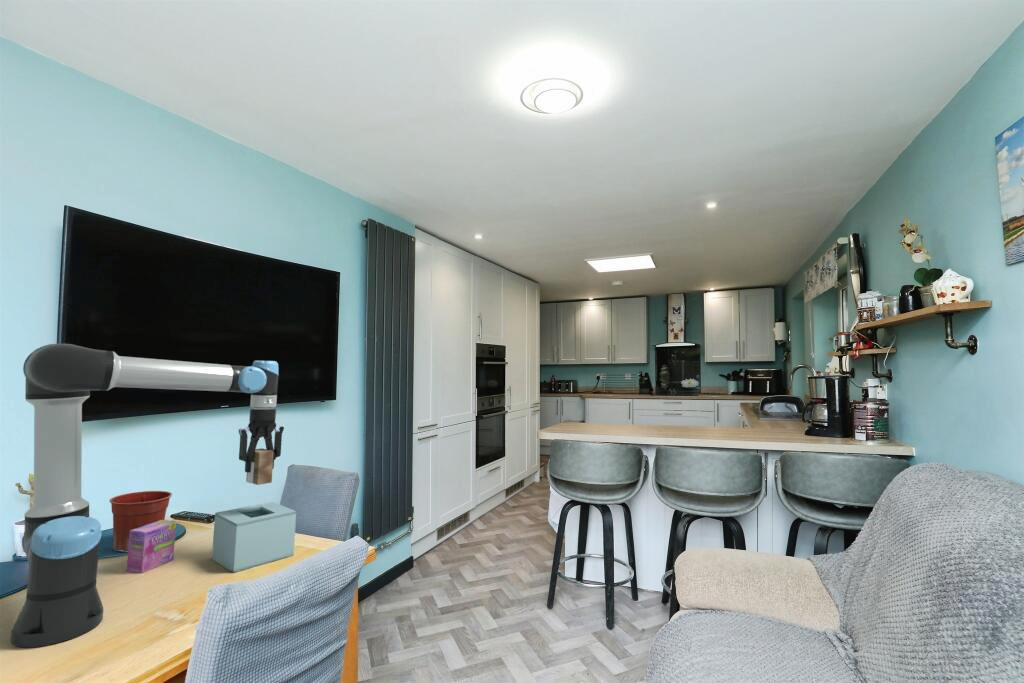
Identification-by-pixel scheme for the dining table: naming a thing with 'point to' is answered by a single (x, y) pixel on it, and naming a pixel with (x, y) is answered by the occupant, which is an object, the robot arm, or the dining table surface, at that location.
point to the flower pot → (136, 513)
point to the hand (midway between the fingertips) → (258, 480)
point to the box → (151, 546)
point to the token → (262, 466)
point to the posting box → (253, 536)
